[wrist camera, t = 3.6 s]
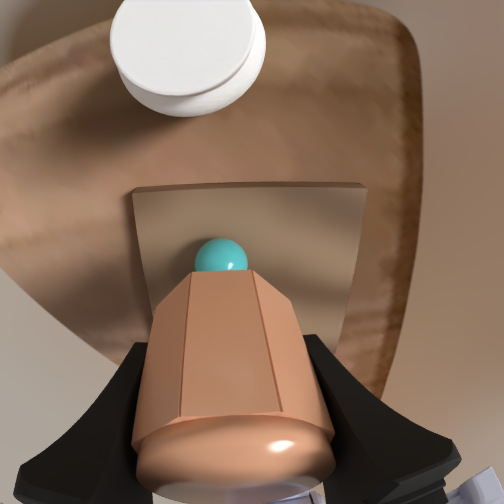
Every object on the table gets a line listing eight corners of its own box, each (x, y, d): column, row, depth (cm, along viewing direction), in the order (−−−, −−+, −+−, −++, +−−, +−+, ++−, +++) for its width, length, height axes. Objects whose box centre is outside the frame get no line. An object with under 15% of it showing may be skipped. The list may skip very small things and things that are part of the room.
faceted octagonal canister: (283, 364, 14) (316, 496, 8) (170, 370, 14) (161, 505, 8) (294, 267, 12) (359, 426, 6) (149, 273, 11) (105, 441, 5)
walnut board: (331, 344, 26) (335, 353, 24) (166, 355, 24) (164, 365, 23) (359, 183, 19) (367, 188, 18) (136, 187, 18) (131, 193, 17)
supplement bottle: (135, 88, 15) (54, 83, 6) (182, 10, 13) (151, -69, 4) (218, 127, 17) (218, 156, 8) (265, 50, 15) (318, 0, 6)
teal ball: (245, 272, 20) (250, 300, 17) (197, 274, 19) (195, 302, 17) (245, 228, 18) (250, 252, 16) (194, 230, 18) (191, 254, 15)
